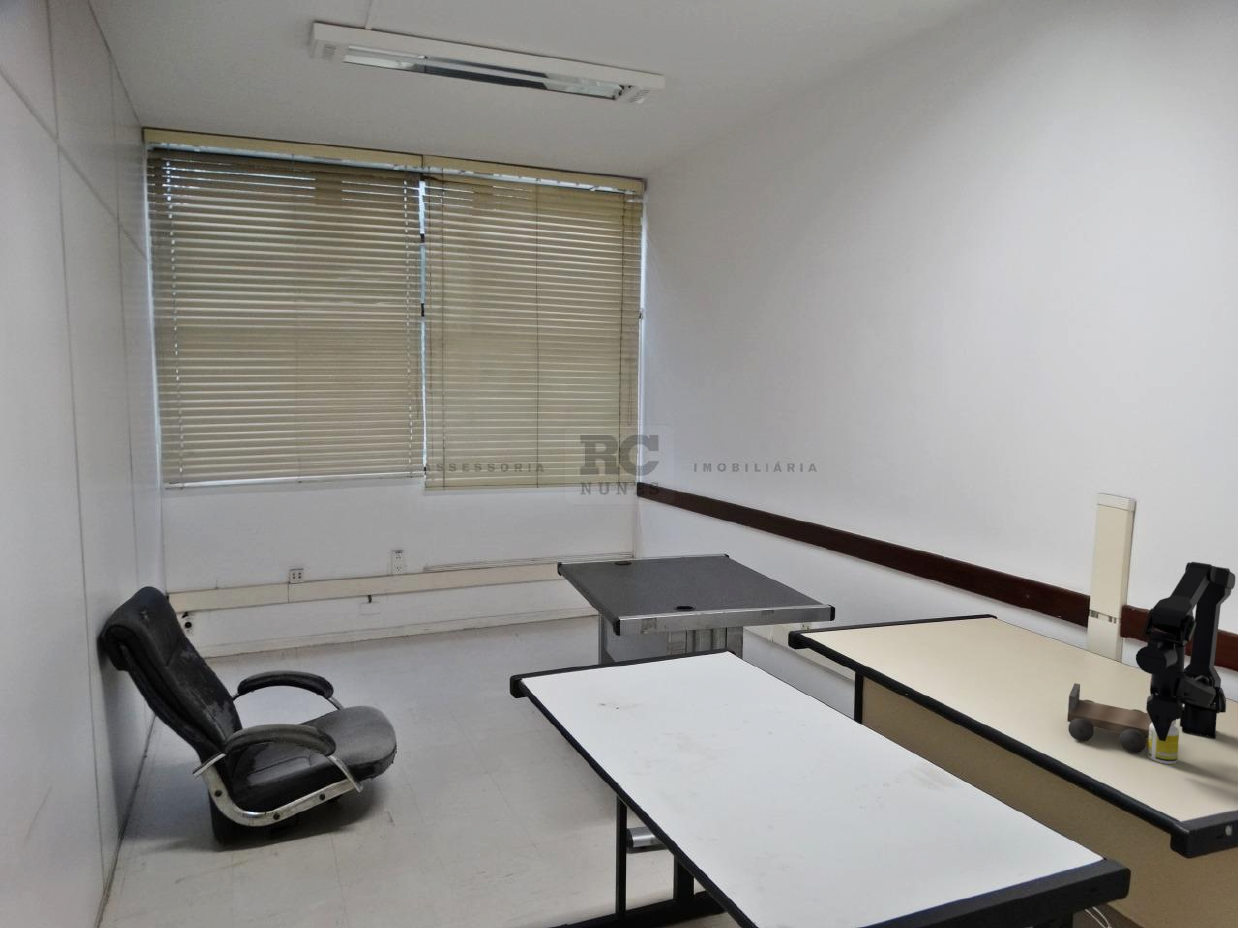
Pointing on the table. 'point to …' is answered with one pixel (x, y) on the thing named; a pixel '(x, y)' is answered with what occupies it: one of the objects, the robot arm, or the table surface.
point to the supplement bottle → (1163, 745)
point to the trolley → (1107, 721)
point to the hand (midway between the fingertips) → (1163, 733)
